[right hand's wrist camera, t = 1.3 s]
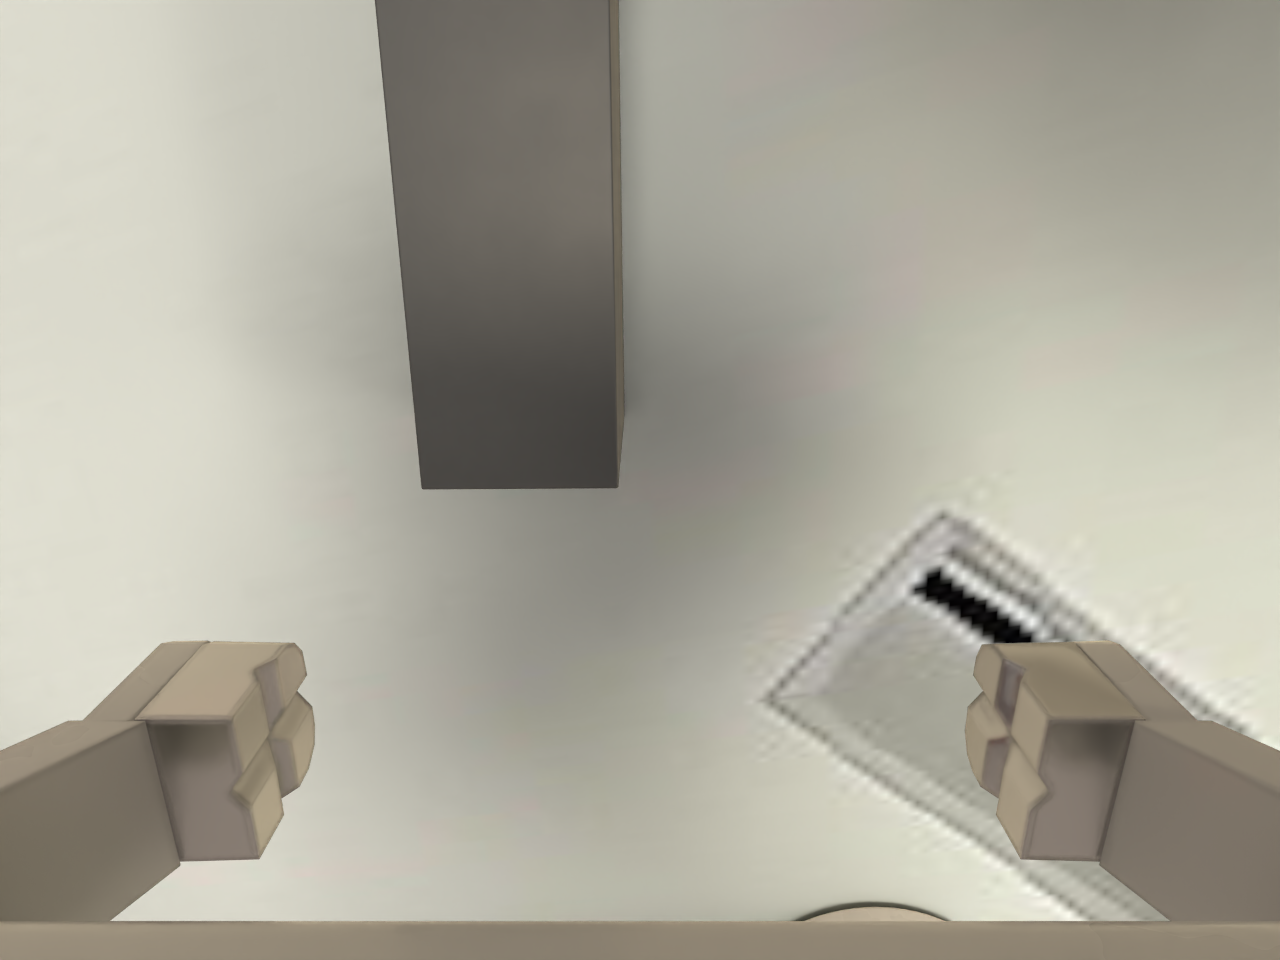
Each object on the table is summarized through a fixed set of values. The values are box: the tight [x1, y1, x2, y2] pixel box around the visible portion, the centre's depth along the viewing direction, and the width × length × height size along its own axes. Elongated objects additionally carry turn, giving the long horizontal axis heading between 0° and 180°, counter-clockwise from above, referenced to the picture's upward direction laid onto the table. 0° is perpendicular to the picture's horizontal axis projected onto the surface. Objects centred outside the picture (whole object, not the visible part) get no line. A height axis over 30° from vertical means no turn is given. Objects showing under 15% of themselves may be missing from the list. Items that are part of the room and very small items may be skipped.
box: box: [375, 0, 624, 489], centre depth 25 cm, size 27×6×9 cm, turn 0°
